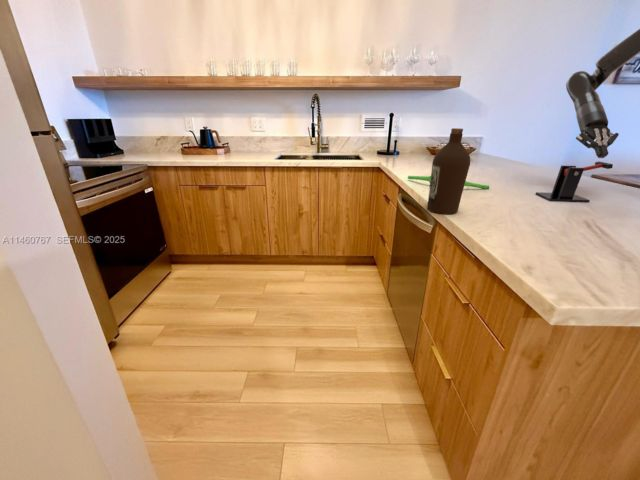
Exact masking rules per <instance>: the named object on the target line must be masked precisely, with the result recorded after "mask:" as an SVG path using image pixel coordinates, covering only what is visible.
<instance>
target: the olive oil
mask: <svg viewBox="0 0 640 480" xmlns="http://www.w3.org/2000/svg"><path fill="white" fill-rule="evenodd" d="M463 132H464V128H458V127H457V128H455V127H454V128H451V132H450V133H449V140H448V142H447V143H446V144H445V145H444V146H443V147H441V148H440V149H439V150H438V151H437V152H436V153H435V154H434V157H433V159H432V163H431V173H430V176H431V181H430V183H429V189H428V198H427V205H426V206H427V207H426V208H427V210H428V211H429V212H432V213H435V214H439V215H455V214H457V213H458V212H459V207H460V204H461V199H462V196H463V192H464V189H465V186H464V185H465V181H467V177H468V174H469V170H470V167H471V156H470V153H469V152H468V150H467V149H466V147H465V146H464V145H463V143H462V139H463V135H464V134H463Z"/></svg>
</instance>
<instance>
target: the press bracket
mask: <svg viewBox="0 0 640 480" xmlns="http://www.w3.org/2000/svg"><path fill="white" fill-rule="evenodd" d="M572 167H574V168H572ZM567 168H568V171H567V173H566V176H564V169H567ZM583 170H584V168H583V167H577V166H576V165H560V168H559V170H558V173H557V176H556V180H555V182H554V185H553V188H552V191H551V192H542V191H541V192H538V191H537V192H535V194H534V195H535V196H537V197H539V198H541V199H544V200H545V201H547V202H552V203H553V202H557V203H586V204H587V203H588V204H590V202H591V200H590V199H588V198H586V197H583V196H581V195H577V194H576V191H577V188H578V186H579V183H580V180H581V178H582V176H583V173H584V171H583Z"/></svg>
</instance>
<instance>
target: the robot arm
mask: <svg viewBox="0 0 640 480" xmlns="http://www.w3.org/2000/svg"><path fill="white" fill-rule="evenodd" d="M639 54H640V28H639V29H637V30H635V31H634V32H633V33H632V34H630V35H629V36H627V37H626V38H624V39H623V40H622V41H620V42H619V43H618V44H616V45H615V46H614V47H612V48H611V49H610V50H609V51H607V52H606V53H605V54H603V55H602V56H601V57H600V58H599V59H598V60H597V61H596V62H595V70H594V71H593V72H592V73H591V74H590V73H588V71H585V70H579V71H576V72H574V73H572V74H571V75H570V76H569V77H568V78H567V80H566V82H565V89H566V91H567V93H568V95H569V97H570V99H571V101H572V103H573V107H574V110H575V117H576V121H577V124H578V128H579V131H580V133H579V134H578V135H577V136H576V137H575V139H576V141H578V142H579V143H581V144H582V145H583V146H585V147H586V148H587V149H592V150H594V153H595V156H596V157H597V159H604V158H606V157H607V156H608V155H609V151H608V148H609V147H610V146H612V145H613V144H614V142H615V141H616V139H617V138H618V137H619V135H620V134H619V133H618V132H615V133H613V132H611V129H610V128H609V126H608V125H609V119H608V116H607V113H606V109H605V107H604V105H603V104H602V102H601V98H600V96H599V93H598V92H597V91H596V90H597V89H598V88H599V87H600V86H602V84H604V82H605V81H607V79H609V77H610V76H611V75H612V74H613V73H614V72H616V71H617V70H619V69H621V67H623V66H624V65H625V64H627V63H628V62H629V61H631V60H632V59H633V58H635V57H636V56H637V55H639Z"/></svg>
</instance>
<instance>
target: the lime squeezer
mask: <svg viewBox="0 0 640 480" xmlns="http://www.w3.org/2000/svg"><path fill="white" fill-rule="evenodd" d="M407 180H414V181H415V180H418V181H423V182H424V181H425V182H428V183H429V184H430V181H431V175H429V176H428V175H425V176H423V175H408V176H407ZM464 187H470V188H477V189H483V190H489V189H490V185H489V184H488V185H487V184H481V183H474V182H470V181H467V180H466V181H465V185H464Z"/></svg>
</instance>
